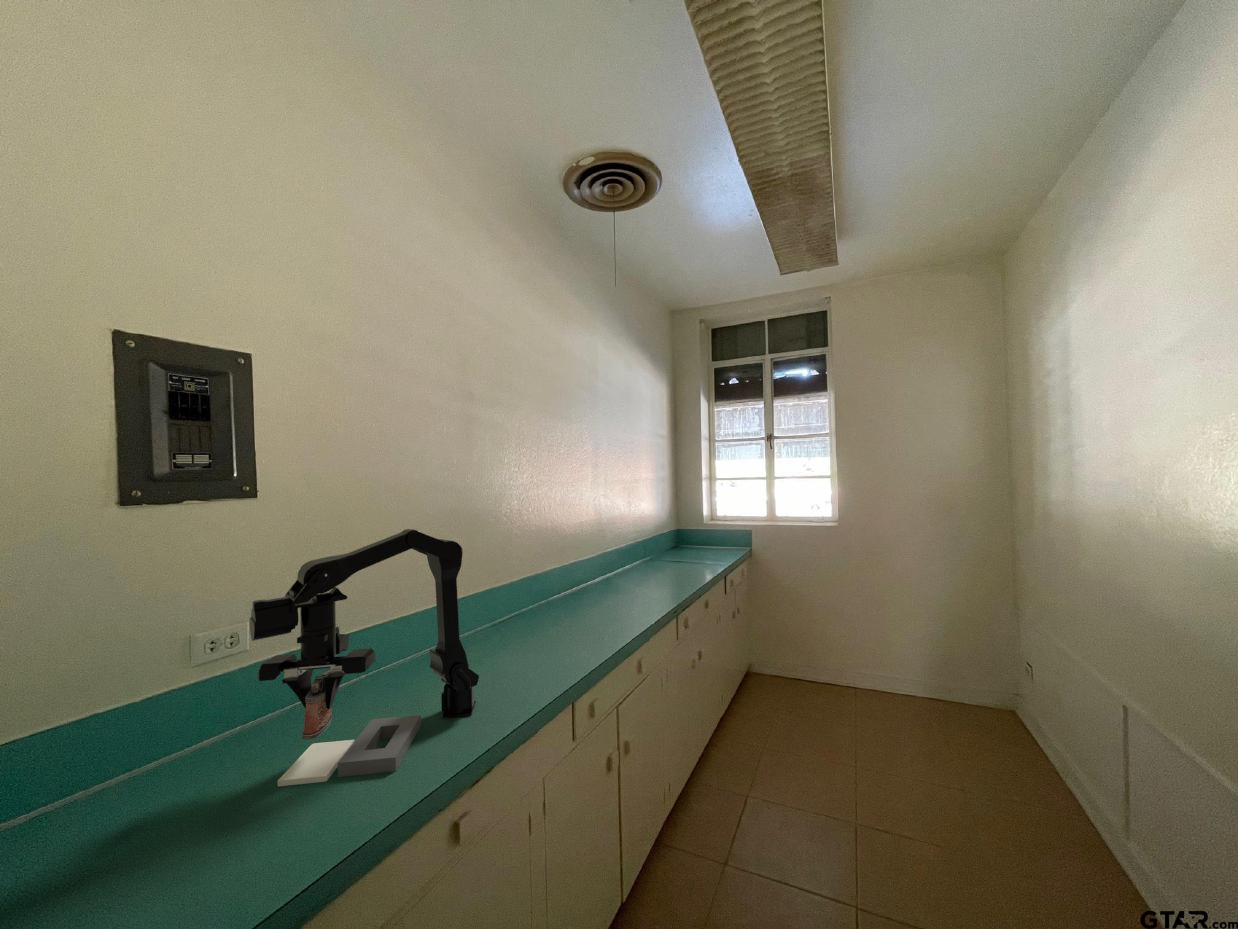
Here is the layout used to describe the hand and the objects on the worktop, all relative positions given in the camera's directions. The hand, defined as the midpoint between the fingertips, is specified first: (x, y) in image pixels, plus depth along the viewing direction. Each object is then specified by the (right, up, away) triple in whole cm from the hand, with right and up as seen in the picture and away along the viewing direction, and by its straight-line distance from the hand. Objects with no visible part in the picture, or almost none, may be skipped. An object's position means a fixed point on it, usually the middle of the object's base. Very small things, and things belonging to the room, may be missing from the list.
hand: (319, 709), depth 90 cm
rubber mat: (0, -10, 0) cm, 10 cm away
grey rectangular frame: (+10, -10, +4) cm, 15 cm away
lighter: (0, -4, 0) cm, 4 cm away
